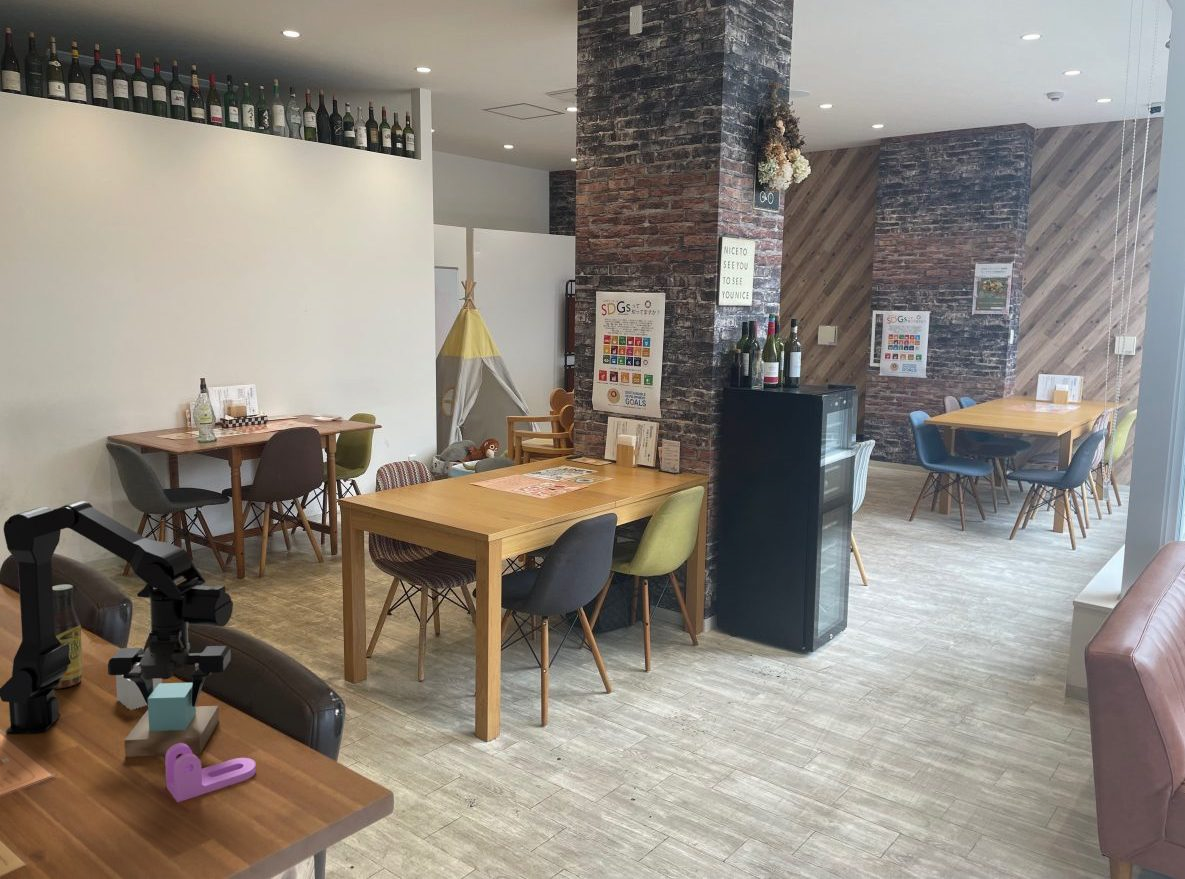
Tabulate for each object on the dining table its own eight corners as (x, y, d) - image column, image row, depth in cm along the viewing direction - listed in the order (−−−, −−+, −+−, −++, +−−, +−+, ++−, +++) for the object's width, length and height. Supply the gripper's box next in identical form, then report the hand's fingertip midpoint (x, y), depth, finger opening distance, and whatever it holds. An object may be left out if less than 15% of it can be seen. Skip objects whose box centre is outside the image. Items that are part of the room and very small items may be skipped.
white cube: (117, 701, 170) (115, 671, 169) (149, 691, 175) (147, 662, 174) (130, 710, 166) (129, 680, 165) (163, 700, 171) (161, 671, 170)
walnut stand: (125, 756, 150) (124, 740, 149) (149, 723, 161) (149, 708, 161) (200, 753, 152) (199, 737, 151) (218, 721, 163) (218, 705, 163)
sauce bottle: (66, 691, 173) (60, 594, 170) (38, 688, 174) (32, 591, 171) (91, 678, 179) (86, 584, 176) (64, 674, 181) (59, 581, 178)
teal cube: (149, 731, 153) (147, 698, 152) (160, 715, 158) (159, 683, 158) (185, 729, 153) (184, 697, 153) (195, 714, 159) (194, 682, 158)
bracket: (177, 803, 137) (175, 761, 136) (166, 787, 141) (164, 747, 140) (261, 775, 146) (260, 736, 145) (248, 762, 150) (247, 723, 149)
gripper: (92, 640, 144) (97, 730, 146) (213, 637, 147) (216, 726, 149) (118, 616, 155) (122, 700, 157) (230, 614, 158) (232, 696, 160)
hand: (172, 706), depth 156 cm, fingers open, 7 cm apart
